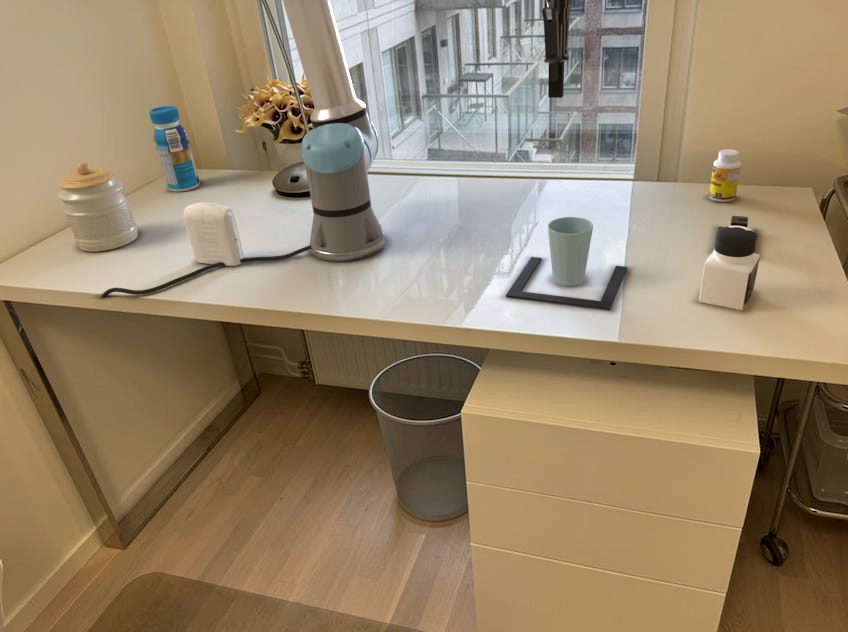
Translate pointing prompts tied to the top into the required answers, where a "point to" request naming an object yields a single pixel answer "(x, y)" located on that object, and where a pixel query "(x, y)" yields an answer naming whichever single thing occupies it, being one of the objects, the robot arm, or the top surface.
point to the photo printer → (213, 234)
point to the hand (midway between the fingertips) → (555, 96)
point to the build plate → (740, 223)
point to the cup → (569, 249)
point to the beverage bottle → (174, 149)
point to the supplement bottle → (725, 176)
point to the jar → (97, 208)
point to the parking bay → (603, 304)
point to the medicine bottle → (730, 269)
